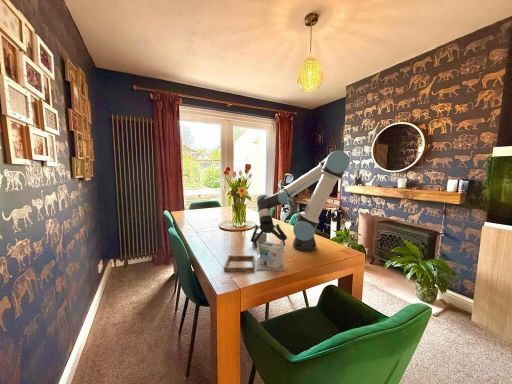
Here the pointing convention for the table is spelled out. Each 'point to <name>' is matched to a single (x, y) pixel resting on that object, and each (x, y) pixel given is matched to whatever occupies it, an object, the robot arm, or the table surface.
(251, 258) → the walnut collar
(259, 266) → the rubber mat
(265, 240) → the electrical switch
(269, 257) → the light bulb box
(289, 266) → the table surface
